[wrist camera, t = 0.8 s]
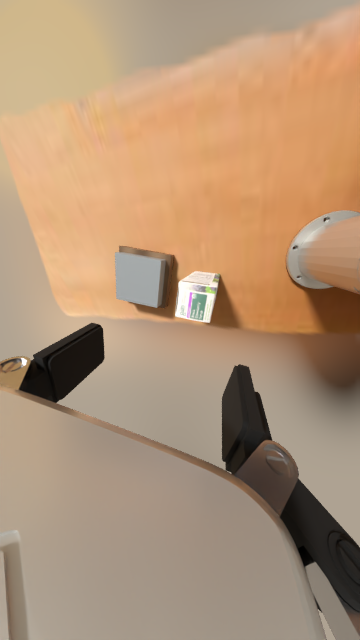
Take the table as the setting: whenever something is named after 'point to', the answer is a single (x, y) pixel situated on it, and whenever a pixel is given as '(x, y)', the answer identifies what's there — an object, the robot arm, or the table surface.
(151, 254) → the tower base
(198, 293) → the syrup box
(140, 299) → the tower top
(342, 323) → the table surface
